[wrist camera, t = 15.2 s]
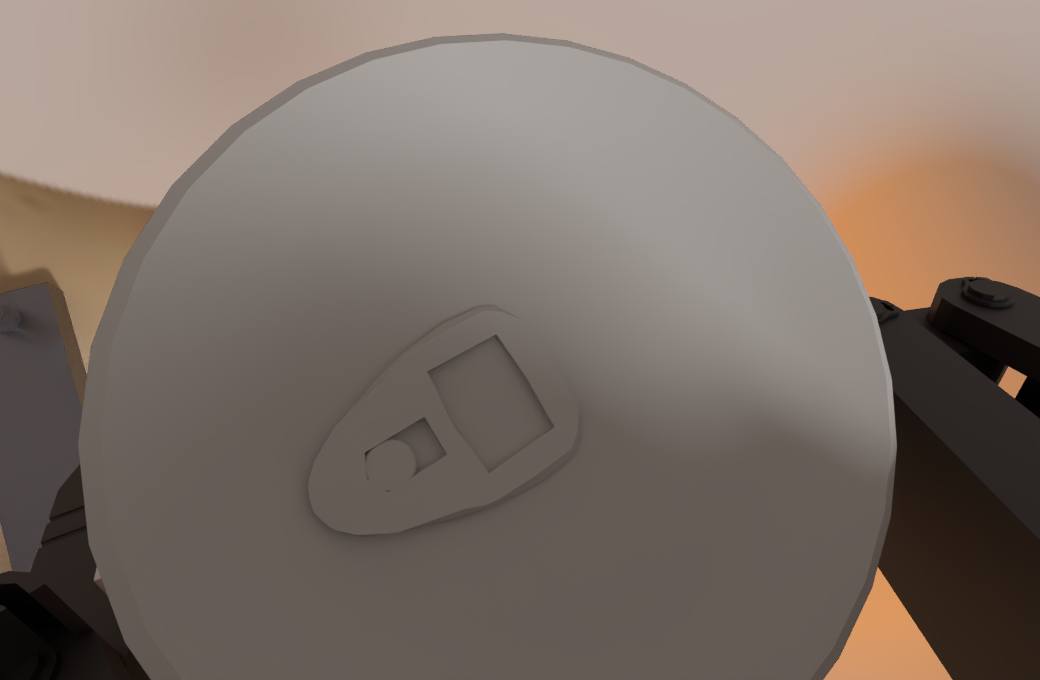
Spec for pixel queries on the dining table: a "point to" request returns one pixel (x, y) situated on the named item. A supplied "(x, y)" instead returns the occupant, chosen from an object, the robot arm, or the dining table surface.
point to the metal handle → (36, 413)
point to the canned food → (488, 388)
